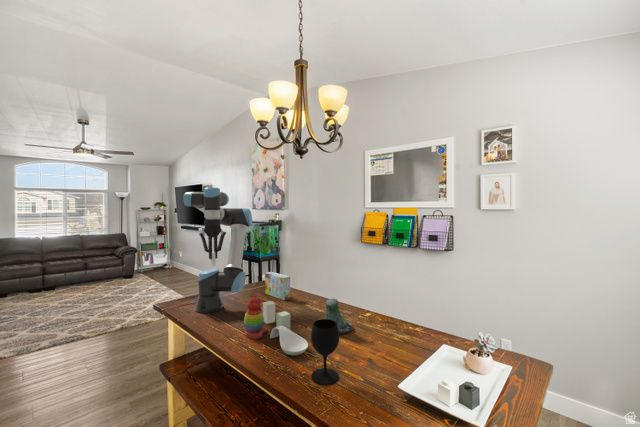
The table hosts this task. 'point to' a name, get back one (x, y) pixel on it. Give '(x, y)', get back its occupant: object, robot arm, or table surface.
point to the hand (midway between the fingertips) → (213, 265)
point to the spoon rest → (289, 341)
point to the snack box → (277, 285)
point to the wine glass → (325, 349)
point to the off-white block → (269, 312)
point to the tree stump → (337, 316)
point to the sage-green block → (283, 319)
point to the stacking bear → (254, 319)
